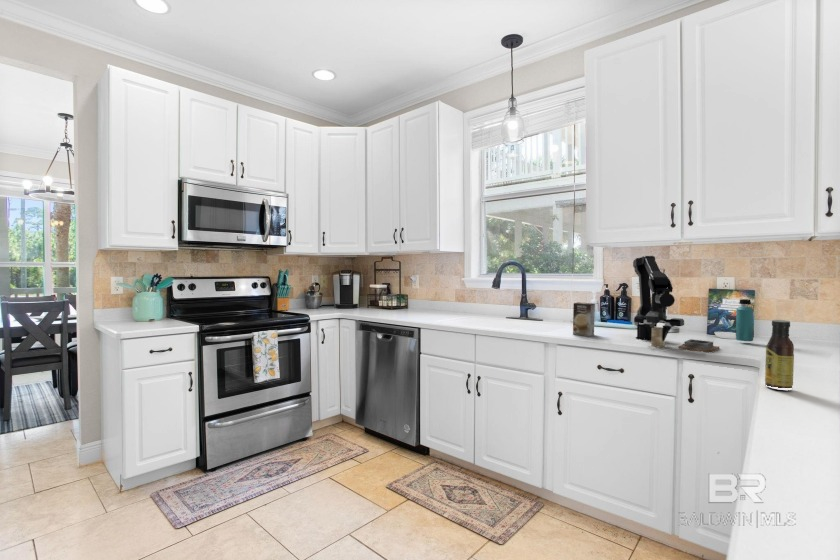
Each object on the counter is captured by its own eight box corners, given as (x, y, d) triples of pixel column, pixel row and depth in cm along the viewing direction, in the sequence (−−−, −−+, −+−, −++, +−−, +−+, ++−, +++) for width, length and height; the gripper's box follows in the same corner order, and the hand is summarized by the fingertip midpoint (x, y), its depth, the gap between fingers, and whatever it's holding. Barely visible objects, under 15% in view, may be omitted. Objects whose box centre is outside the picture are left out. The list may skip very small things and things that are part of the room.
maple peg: (651, 345, 192) (651, 327, 191) (654, 344, 194) (655, 326, 194) (661, 347, 189) (661, 328, 188) (664, 346, 191) (664, 327, 191)
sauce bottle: (765, 384, 130) (766, 318, 129) (792, 388, 126) (794, 320, 125) (764, 389, 125) (766, 320, 124) (793, 393, 121) (795, 322, 120)
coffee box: (572, 334, 223) (572, 303, 222) (576, 332, 228) (577, 302, 227) (590, 336, 217) (590, 304, 216) (594, 334, 222) (595, 303, 221)
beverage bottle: (756, 345, 193) (757, 299, 193) (739, 344, 195) (740, 299, 194) (748, 342, 200) (749, 298, 199) (732, 341, 201) (733, 298, 200)
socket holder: (678, 348, 186) (678, 341, 185) (687, 344, 194) (687, 338, 193) (711, 352, 177) (711, 345, 177) (719, 348, 185) (719, 341, 185)
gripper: (629, 304, 192) (628, 339, 193) (675, 307, 178) (675, 345, 179) (639, 302, 200) (638, 336, 200) (685, 305, 186) (684, 342, 187)
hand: (658, 340), depth 191 cm, fingers closed on maple peg, 4 cm apart
